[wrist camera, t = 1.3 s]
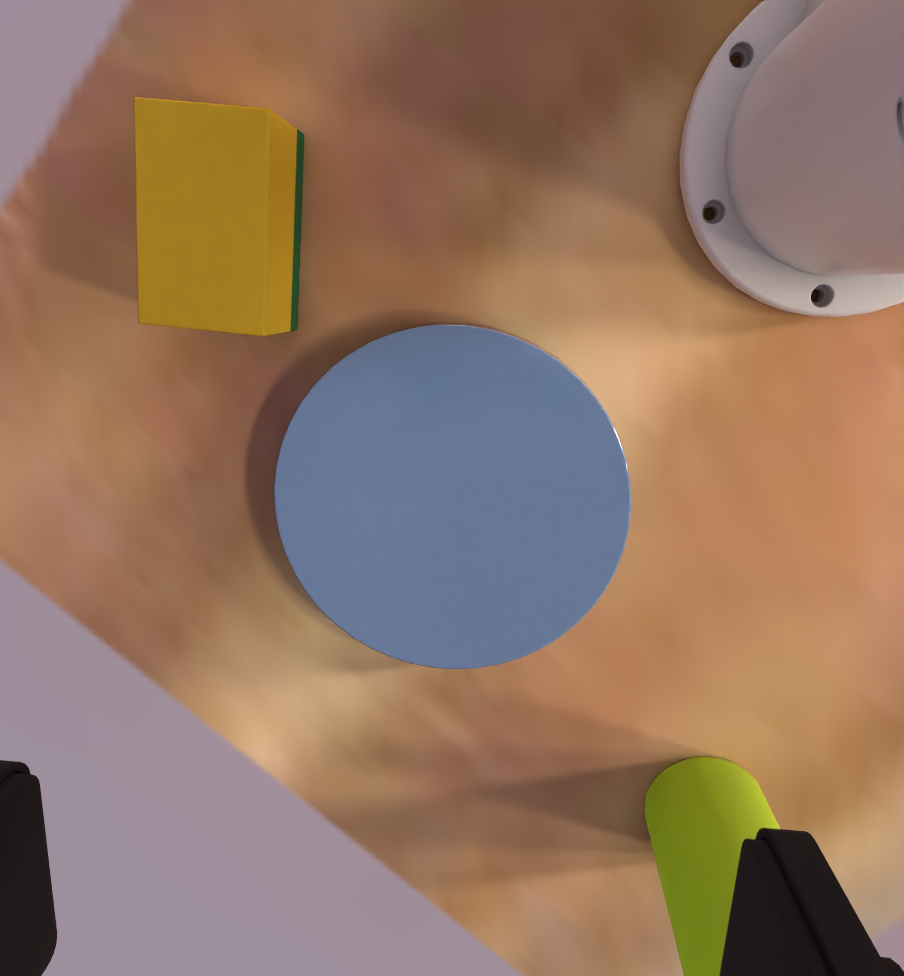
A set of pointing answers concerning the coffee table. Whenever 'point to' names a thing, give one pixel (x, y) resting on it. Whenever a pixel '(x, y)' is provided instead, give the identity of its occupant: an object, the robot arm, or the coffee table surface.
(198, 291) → the sponge
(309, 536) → the plate
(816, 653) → the coffee table surface
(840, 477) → the coffee table surface
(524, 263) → the coffee table surface
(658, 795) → the soap dispenser
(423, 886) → the coffee table surface
